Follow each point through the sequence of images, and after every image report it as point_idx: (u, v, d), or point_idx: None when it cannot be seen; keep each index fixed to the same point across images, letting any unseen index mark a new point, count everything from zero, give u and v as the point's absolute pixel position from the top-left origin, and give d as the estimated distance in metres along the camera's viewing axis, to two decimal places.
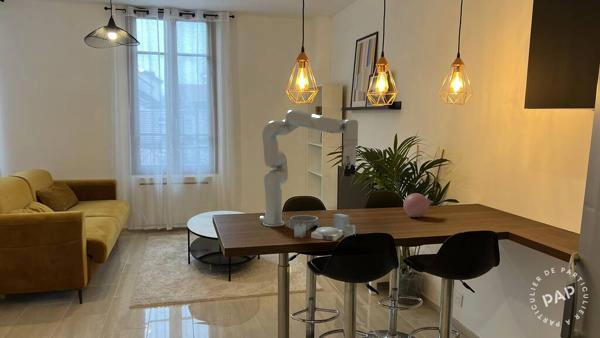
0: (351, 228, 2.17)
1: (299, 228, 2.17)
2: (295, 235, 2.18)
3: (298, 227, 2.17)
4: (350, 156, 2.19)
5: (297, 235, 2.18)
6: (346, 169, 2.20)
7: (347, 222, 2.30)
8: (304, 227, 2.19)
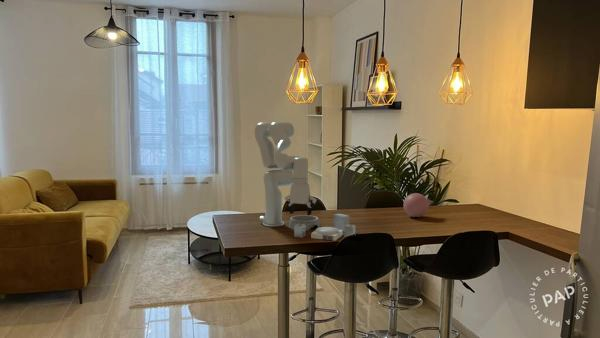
0: (351, 228, 2.17)
1: (299, 228, 2.17)
2: (295, 235, 2.18)
3: (298, 227, 2.17)
4: None
5: (297, 235, 2.18)
6: (310, 208, 2.16)
7: (347, 222, 2.30)
8: (304, 227, 2.19)
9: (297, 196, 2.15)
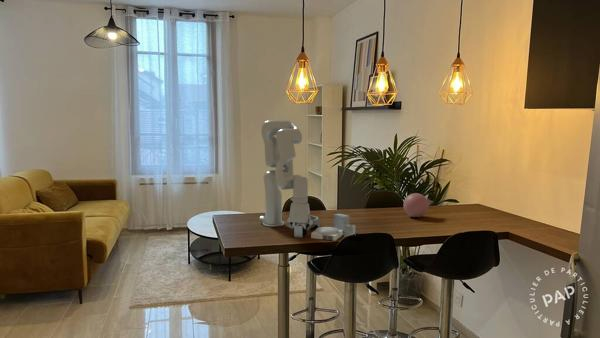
0: (351, 228, 2.17)
1: (299, 228, 2.17)
2: (295, 235, 2.18)
3: (298, 227, 2.17)
4: (309, 213, 2.18)
5: (297, 235, 2.18)
6: (306, 229, 2.18)
7: (347, 222, 2.30)
8: None
9: (297, 215, 2.16)
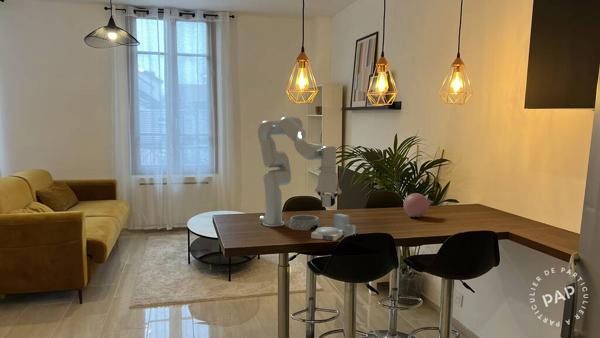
0: (351, 228, 2.17)
1: (327, 197, 2.16)
2: (323, 205, 2.17)
3: (326, 196, 2.16)
4: None
5: (325, 205, 2.17)
6: (334, 198, 2.17)
7: (347, 222, 2.30)
8: None
9: (325, 185, 2.15)
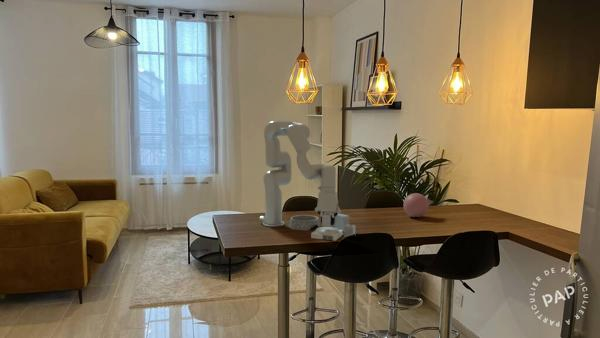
0: (351, 228, 2.17)
1: (327, 217, 2.17)
2: (323, 224, 2.18)
3: (326, 216, 2.17)
4: (337, 202, 2.18)
5: (325, 224, 2.18)
6: (334, 218, 2.18)
7: (347, 222, 2.30)
8: None
9: (325, 204, 2.16)
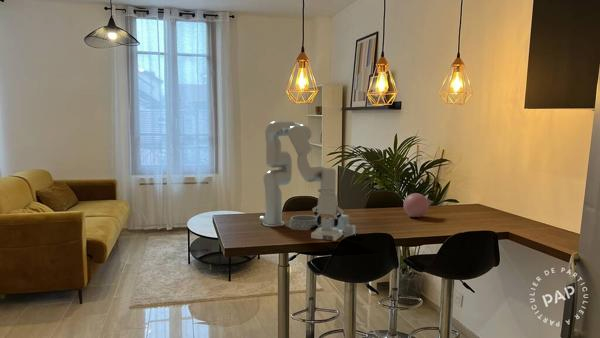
0: (351, 228, 2.17)
1: (327, 221, 2.17)
2: (322, 228, 2.19)
3: (326, 220, 2.17)
4: (337, 205, 2.18)
5: (325, 228, 2.18)
6: (337, 219, 2.17)
7: (347, 222, 2.30)
8: (331, 220, 2.19)
9: (325, 207, 2.16)
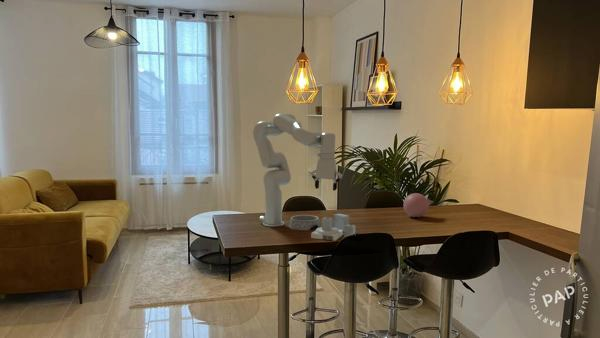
0: (351, 228, 2.17)
1: (327, 221, 2.17)
2: (322, 228, 2.19)
3: (326, 220, 2.17)
4: (336, 170, 2.19)
5: (325, 228, 2.18)
6: (336, 183, 2.18)
7: (347, 222, 2.30)
8: (331, 220, 2.19)
9: (323, 171, 2.18)
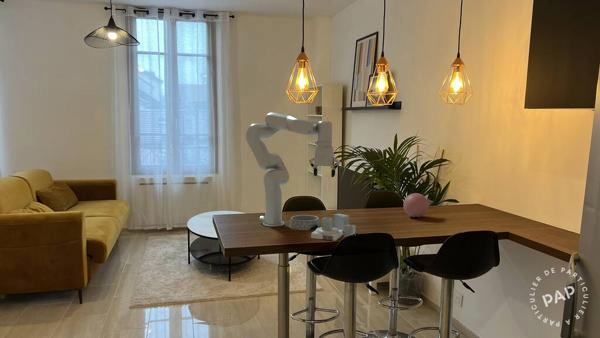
0: (351, 228, 2.17)
1: (327, 221, 2.17)
2: (322, 228, 2.19)
3: (326, 220, 2.17)
4: None
5: (325, 228, 2.18)
6: (334, 170, 2.24)
7: (347, 222, 2.30)
8: (331, 220, 2.19)
9: (321, 158, 2.23)
